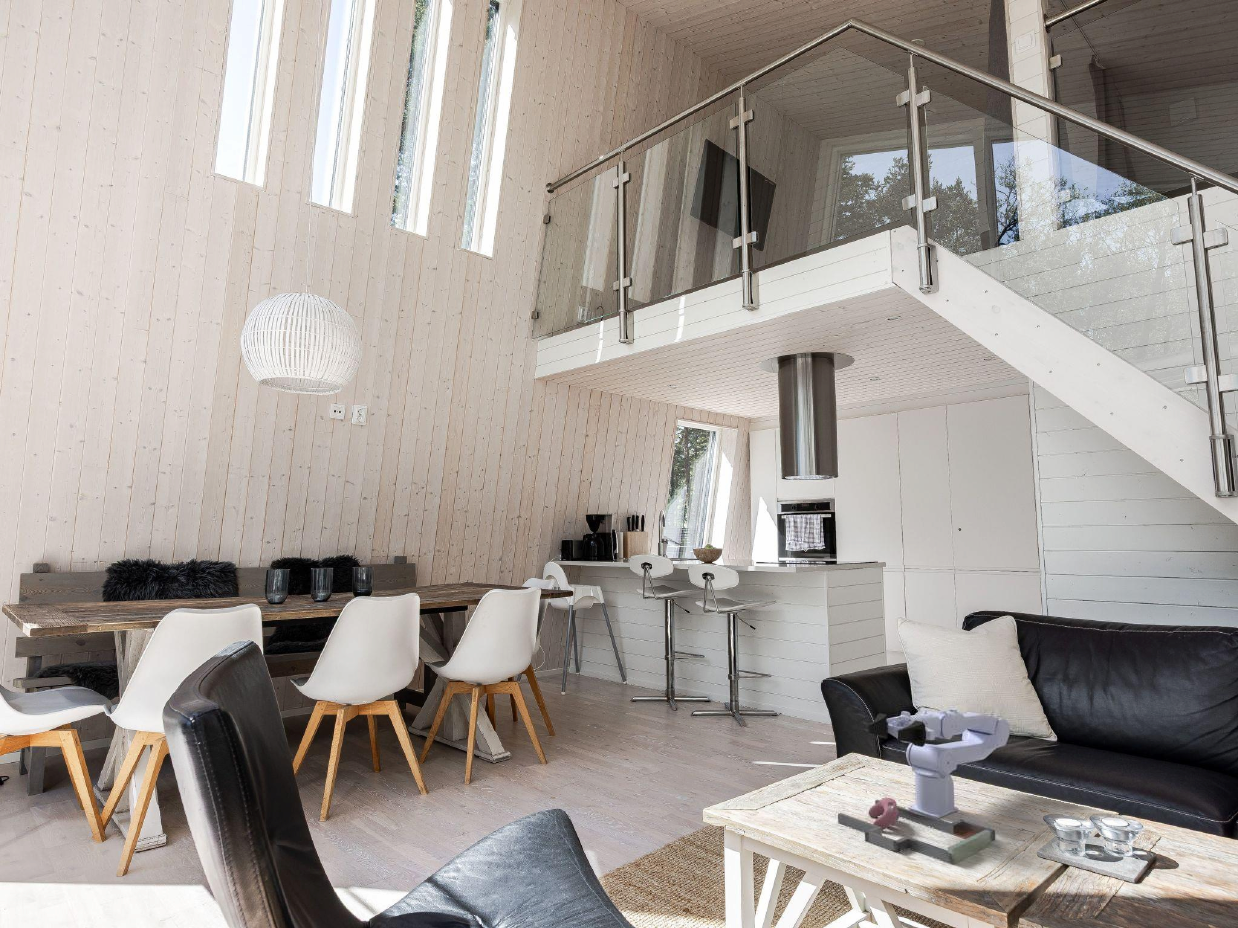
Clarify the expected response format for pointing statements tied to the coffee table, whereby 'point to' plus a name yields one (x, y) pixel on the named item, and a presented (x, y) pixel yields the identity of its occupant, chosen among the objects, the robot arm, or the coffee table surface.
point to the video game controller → (884, 812)
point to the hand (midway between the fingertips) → (884, 731)
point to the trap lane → (973, 842)
